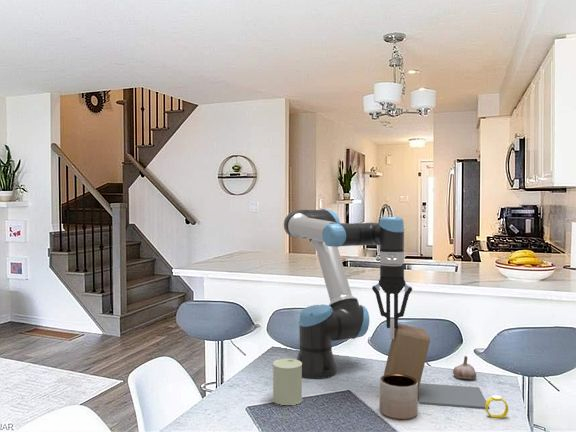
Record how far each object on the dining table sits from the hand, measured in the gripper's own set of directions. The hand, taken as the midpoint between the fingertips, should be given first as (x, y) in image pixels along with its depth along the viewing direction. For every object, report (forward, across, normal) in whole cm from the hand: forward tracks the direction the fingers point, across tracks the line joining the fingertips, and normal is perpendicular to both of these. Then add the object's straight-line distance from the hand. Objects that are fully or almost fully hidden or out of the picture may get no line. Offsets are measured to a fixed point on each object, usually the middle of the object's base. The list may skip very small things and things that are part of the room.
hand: (392, 338), depth 157 cm
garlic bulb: (+18, +25, +20) cm, 36 cm away
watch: (+19, +29, -12) cm, 36 cm away
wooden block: (+17, +2, +1) cm, 17 cm away
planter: (+18, +2, -14) cm, 23 cm away
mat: (+18, +18, +2) cm, 25 cm away
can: (+18, -32, -12) cm, 39 cm away
